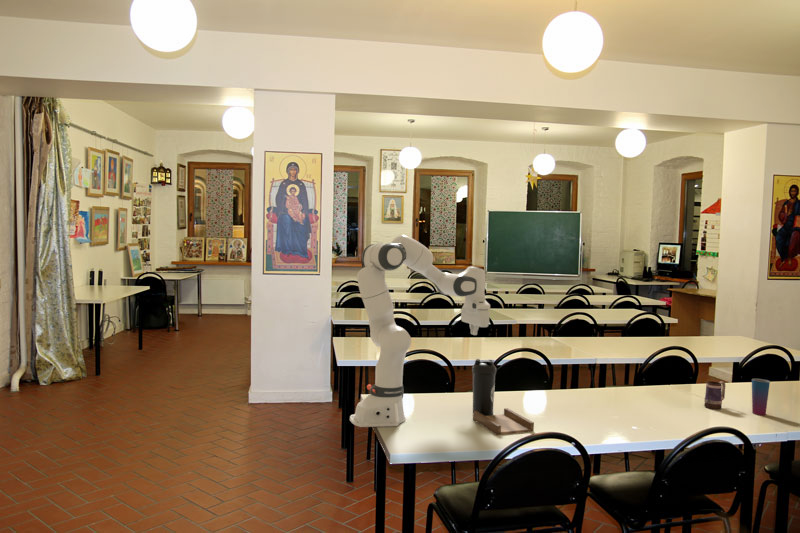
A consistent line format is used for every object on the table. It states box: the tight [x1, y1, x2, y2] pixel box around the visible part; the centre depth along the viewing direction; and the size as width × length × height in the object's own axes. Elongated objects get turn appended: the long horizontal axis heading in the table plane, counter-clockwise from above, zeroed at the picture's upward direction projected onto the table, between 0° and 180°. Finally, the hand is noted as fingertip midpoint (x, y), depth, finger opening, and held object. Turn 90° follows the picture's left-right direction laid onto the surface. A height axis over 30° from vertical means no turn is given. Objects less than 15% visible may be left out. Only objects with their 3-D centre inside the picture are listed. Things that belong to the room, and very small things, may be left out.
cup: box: [751, 378, 771, 416], centre depth 254 cm, size 7×7×15 cm
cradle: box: [472, 407, 535, 436], centre depth 228 cm, size 16×20×4 cm
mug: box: [704, 380, 726, 411], centre depth 263 cm, size 10×7×12 cm
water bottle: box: [471, 358, 497, 416], centre depth 244 cm, size 10×10×23 cm
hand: (473, 334), depth 253 cm, fingers closed
